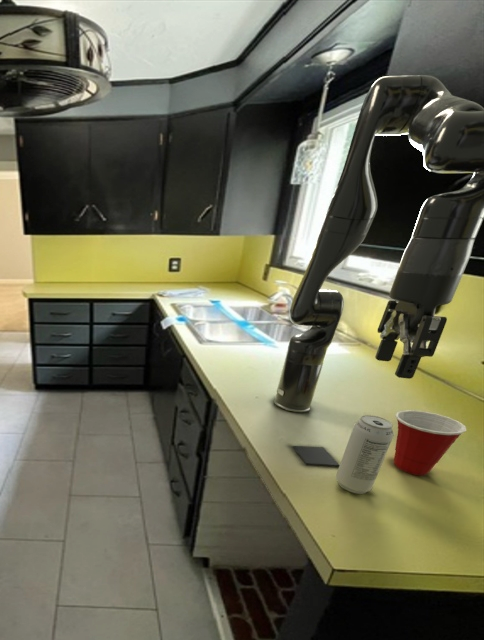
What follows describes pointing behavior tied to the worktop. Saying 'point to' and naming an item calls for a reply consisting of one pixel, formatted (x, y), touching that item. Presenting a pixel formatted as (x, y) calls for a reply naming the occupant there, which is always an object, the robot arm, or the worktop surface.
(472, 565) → the worktop surface
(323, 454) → the coaster
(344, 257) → the robot arm
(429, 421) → the plastic cup
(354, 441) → the energy drink can
